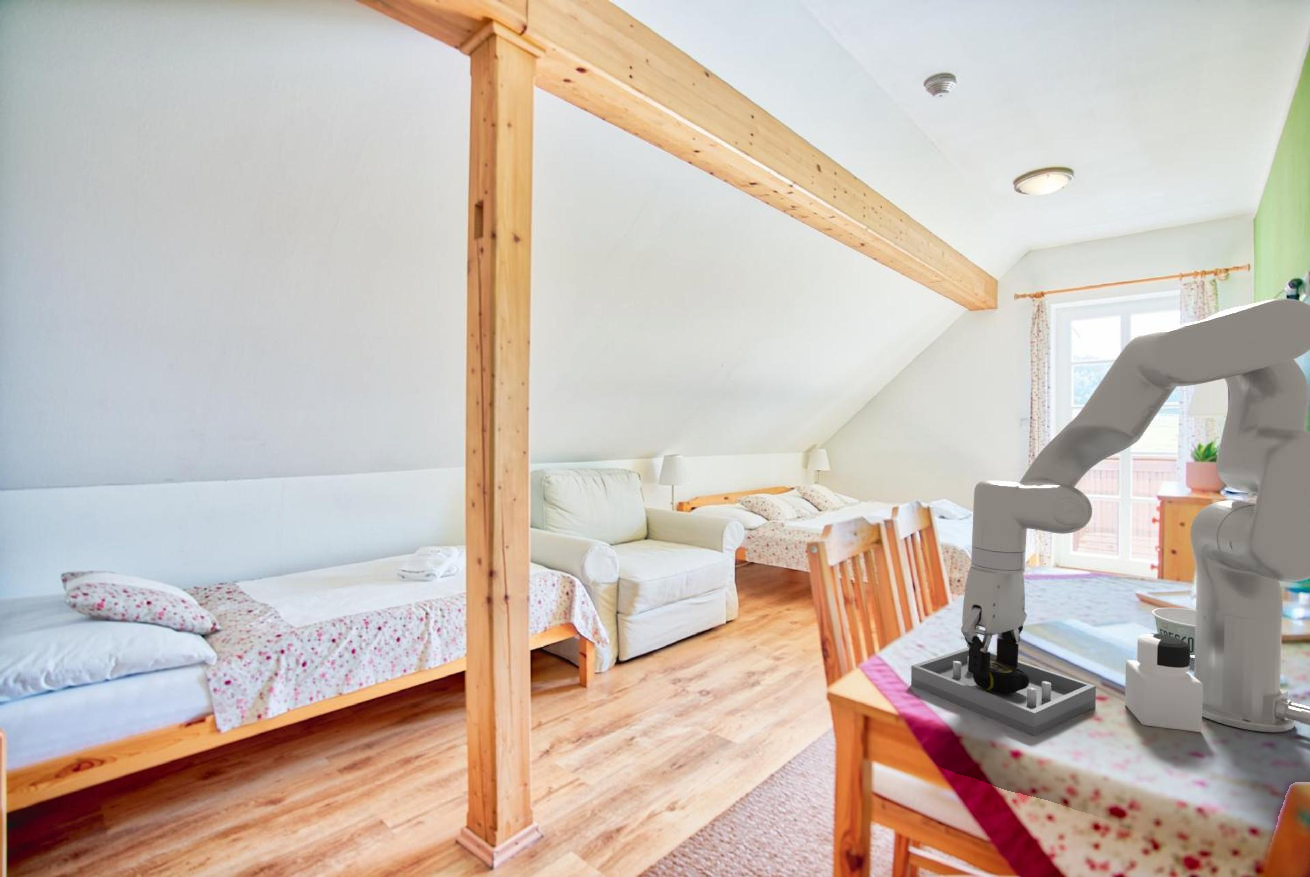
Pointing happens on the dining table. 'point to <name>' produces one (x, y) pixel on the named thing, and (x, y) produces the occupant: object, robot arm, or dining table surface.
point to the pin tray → (1024, 709)
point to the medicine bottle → (1163, 684)
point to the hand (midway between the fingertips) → (992, 669)
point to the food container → (1177, 624)
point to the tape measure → (1003, 678)
